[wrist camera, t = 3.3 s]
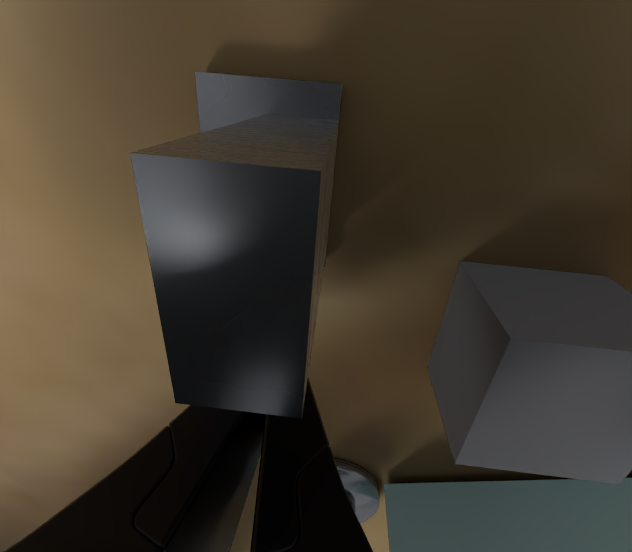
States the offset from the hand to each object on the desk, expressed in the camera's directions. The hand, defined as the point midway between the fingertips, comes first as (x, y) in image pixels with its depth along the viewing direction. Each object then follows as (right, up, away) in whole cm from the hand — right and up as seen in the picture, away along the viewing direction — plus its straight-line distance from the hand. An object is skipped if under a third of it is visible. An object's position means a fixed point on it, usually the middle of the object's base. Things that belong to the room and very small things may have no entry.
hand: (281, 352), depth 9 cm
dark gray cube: (+7, +1, +2) cm, 7 cm away
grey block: (+1, +4, 0) cm, 5 cm away
